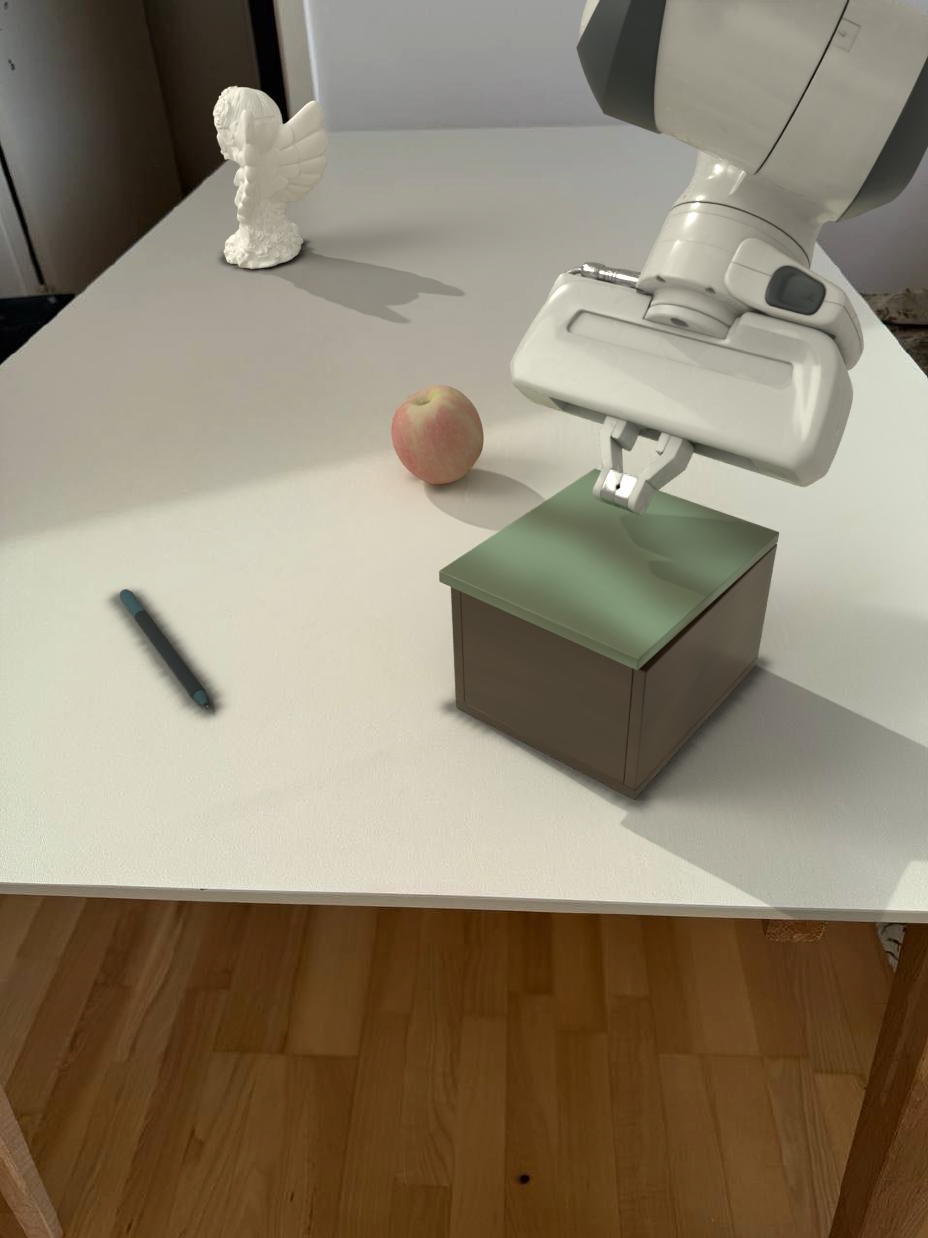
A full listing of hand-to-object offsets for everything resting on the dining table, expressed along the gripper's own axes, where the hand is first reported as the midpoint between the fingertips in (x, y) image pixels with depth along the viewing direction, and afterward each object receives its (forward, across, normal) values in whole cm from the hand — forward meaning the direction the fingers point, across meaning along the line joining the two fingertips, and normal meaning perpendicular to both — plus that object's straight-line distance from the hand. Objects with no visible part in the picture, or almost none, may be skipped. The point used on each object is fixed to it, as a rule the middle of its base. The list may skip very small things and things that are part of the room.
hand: (616, 505), depth 64 cm
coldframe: (+10, 0, +10) cm, 14 cm away
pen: (+21, -27, 0) cm, 34 cm away
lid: (+3, 0, +3) cm, 4 cm away
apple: (-1, -27, +21) cm, 34 cm away
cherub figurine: (-24, -82, +44) cm, 96 cm away
